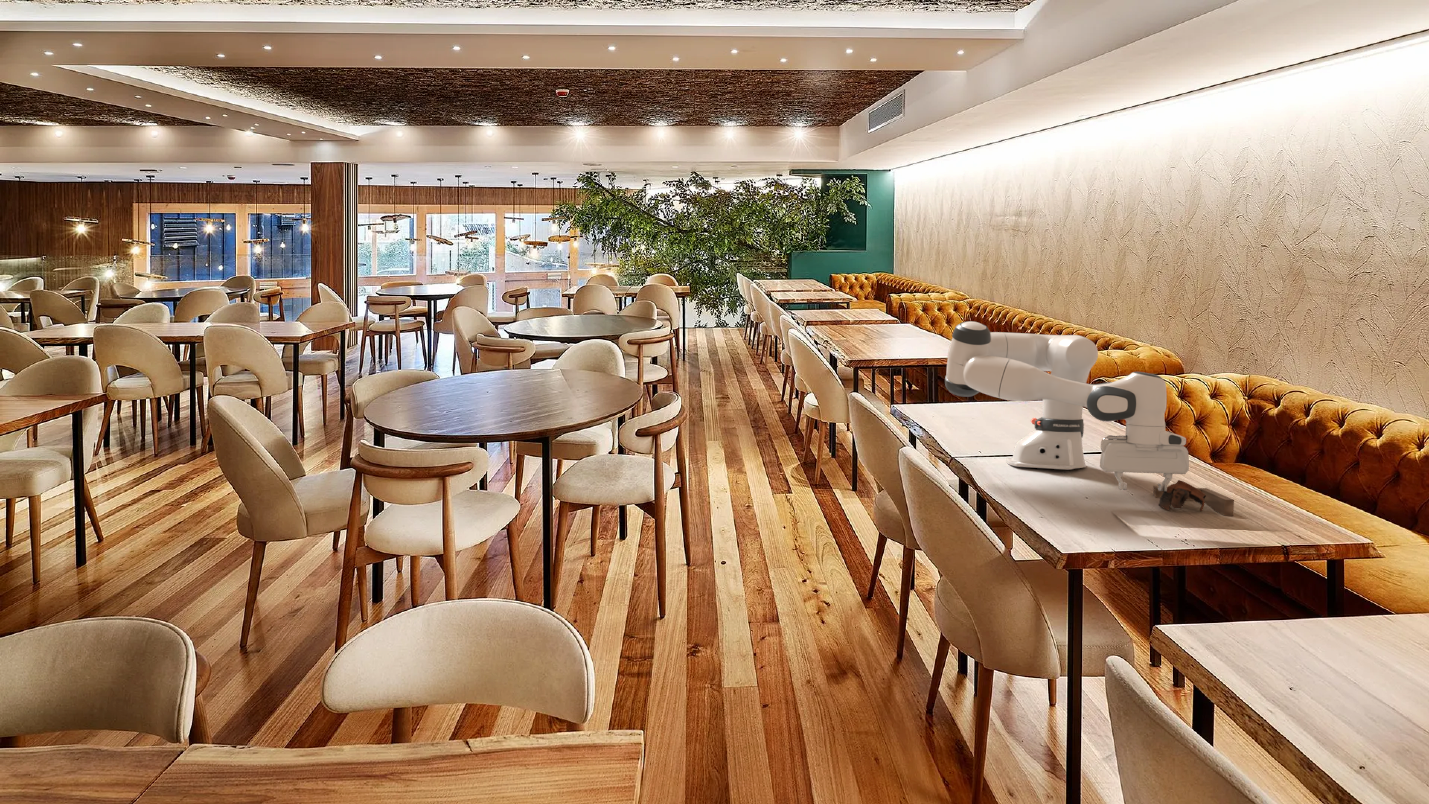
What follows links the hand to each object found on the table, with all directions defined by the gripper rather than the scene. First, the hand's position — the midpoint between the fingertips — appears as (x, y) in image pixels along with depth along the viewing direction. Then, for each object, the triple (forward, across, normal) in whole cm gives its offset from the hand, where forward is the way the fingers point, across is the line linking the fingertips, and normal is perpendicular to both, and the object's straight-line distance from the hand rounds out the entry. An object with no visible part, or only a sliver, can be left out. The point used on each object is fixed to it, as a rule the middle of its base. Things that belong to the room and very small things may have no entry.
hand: (1142, 490), depth 206 cm
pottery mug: (+6, +7, -1) cm, 9 cm away
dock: (+5, +18, +3) cm, 19 cm away
